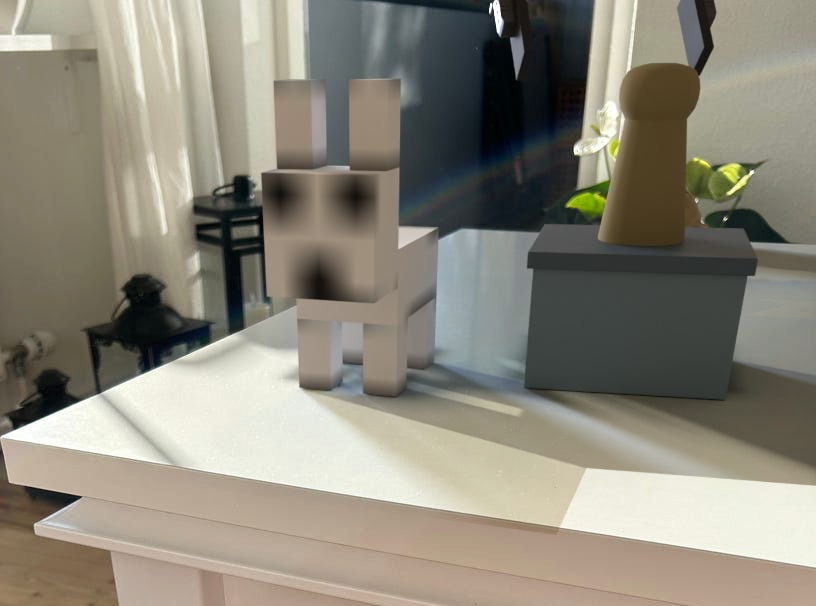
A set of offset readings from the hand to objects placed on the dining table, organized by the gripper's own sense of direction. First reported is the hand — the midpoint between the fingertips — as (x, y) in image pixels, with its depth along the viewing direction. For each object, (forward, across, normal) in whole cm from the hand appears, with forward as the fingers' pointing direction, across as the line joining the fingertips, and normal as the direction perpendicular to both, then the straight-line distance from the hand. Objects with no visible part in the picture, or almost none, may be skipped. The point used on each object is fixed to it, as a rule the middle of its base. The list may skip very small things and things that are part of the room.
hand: (614, 64), depth 77 cm
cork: (+15, 0, 0) cm, 15 cm away
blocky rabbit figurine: (+21, +20, -8) cm, 30 cm away
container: (+22, 0, -7) cm, 23 cm away
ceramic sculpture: (-12, -20, -41) cm, 47 cm away
